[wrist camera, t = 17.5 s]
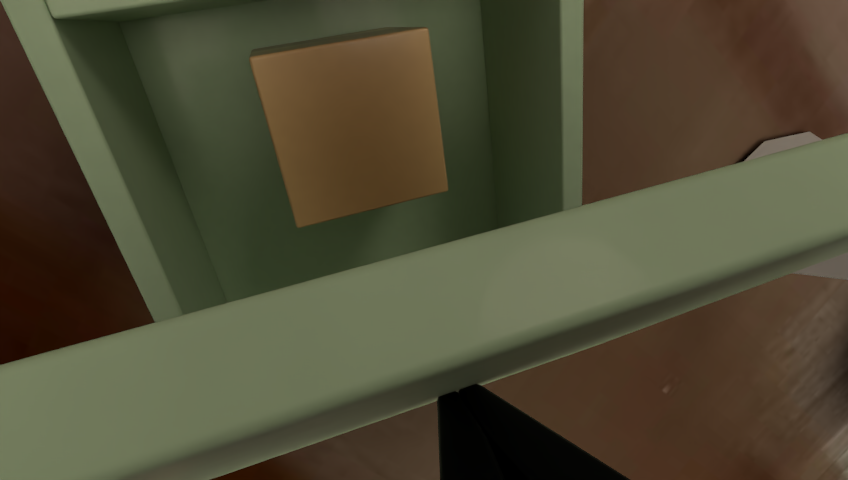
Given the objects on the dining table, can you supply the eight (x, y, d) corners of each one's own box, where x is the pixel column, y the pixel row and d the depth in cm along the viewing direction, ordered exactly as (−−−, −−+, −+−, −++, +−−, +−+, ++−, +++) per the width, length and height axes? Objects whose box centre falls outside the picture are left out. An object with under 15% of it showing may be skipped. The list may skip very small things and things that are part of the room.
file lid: (-935, 613, 2) (-1071, 881, 1) (1206, 32, 4) (1277, 93, 4) (213, 451, 14) (217, 476, 14) (584, 327, 17) (593, 346, 16)
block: (288, 183, 17) (296, 229, 13) (251, 49, 15) (248, 57, 11) (408, 156, 18) (449, 191, 14) (387, 26, 16) (429, 26, 12)
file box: (88, -1, 14) (-10, -16, 9) (486, -55, 16) (585, -90, 11) (227, 342, 19) (216, 453, 14) (508, 261, 22) (582, 330, 17)
